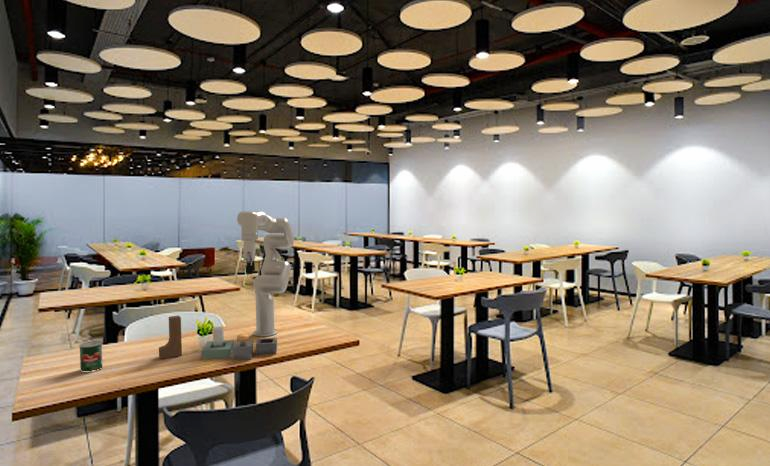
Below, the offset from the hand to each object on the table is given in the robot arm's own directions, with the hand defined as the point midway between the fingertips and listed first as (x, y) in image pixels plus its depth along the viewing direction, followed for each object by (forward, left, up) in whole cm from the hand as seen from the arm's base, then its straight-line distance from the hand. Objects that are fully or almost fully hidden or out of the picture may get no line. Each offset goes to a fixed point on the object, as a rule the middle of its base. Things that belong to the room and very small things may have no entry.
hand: (250, 272), depth 224 cm
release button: (+17, -2, -35) cm, 39 cm away
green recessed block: (+10, -14, -36) cm, 40 cm away
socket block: (+11, +8, -36) cm, 39 cm away
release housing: (+17, -2, -36) cm, 40 cm away
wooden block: (+10, -35, -36) cm, 52 cm away
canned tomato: (+22, -63, -36) cm, 76 cm away
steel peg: (+10, -14, -36) cm, 40 cm away
